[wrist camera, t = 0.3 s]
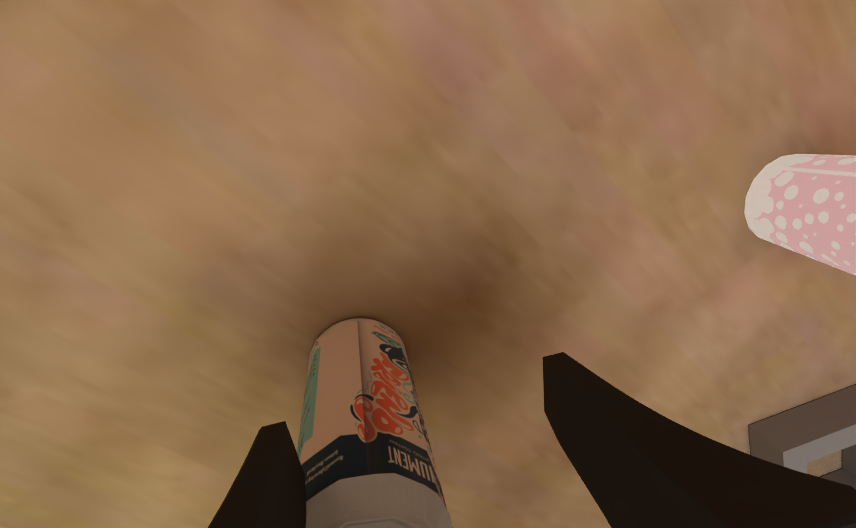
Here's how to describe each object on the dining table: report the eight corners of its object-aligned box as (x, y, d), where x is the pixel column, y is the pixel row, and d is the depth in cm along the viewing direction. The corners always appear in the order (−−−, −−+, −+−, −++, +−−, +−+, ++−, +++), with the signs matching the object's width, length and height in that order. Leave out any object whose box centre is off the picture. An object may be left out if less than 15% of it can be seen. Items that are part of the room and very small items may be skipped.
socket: (861, 477, 33) (901, 505, 31) (755, 519, 33) (788, 551, 30) (863, 381, 30) (907, 404, 28) (748, 425, 30) (783, 452, 28)
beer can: (418, 380, 25) (480, 601, 14) (330, 413, 25) (320, 666, 14) (387, 299, 23) (429, 475, 12) (293, 334, 23) (247, 546, 12)
